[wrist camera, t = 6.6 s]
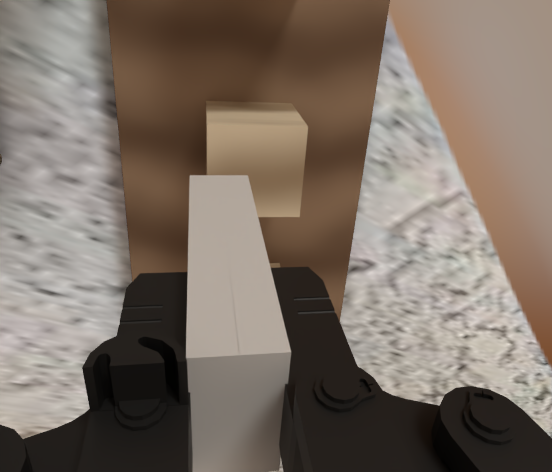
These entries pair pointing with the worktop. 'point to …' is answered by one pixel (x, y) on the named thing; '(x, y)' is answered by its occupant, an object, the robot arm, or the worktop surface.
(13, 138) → the worktop surface
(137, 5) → the walnut board
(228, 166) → the plain beech block
